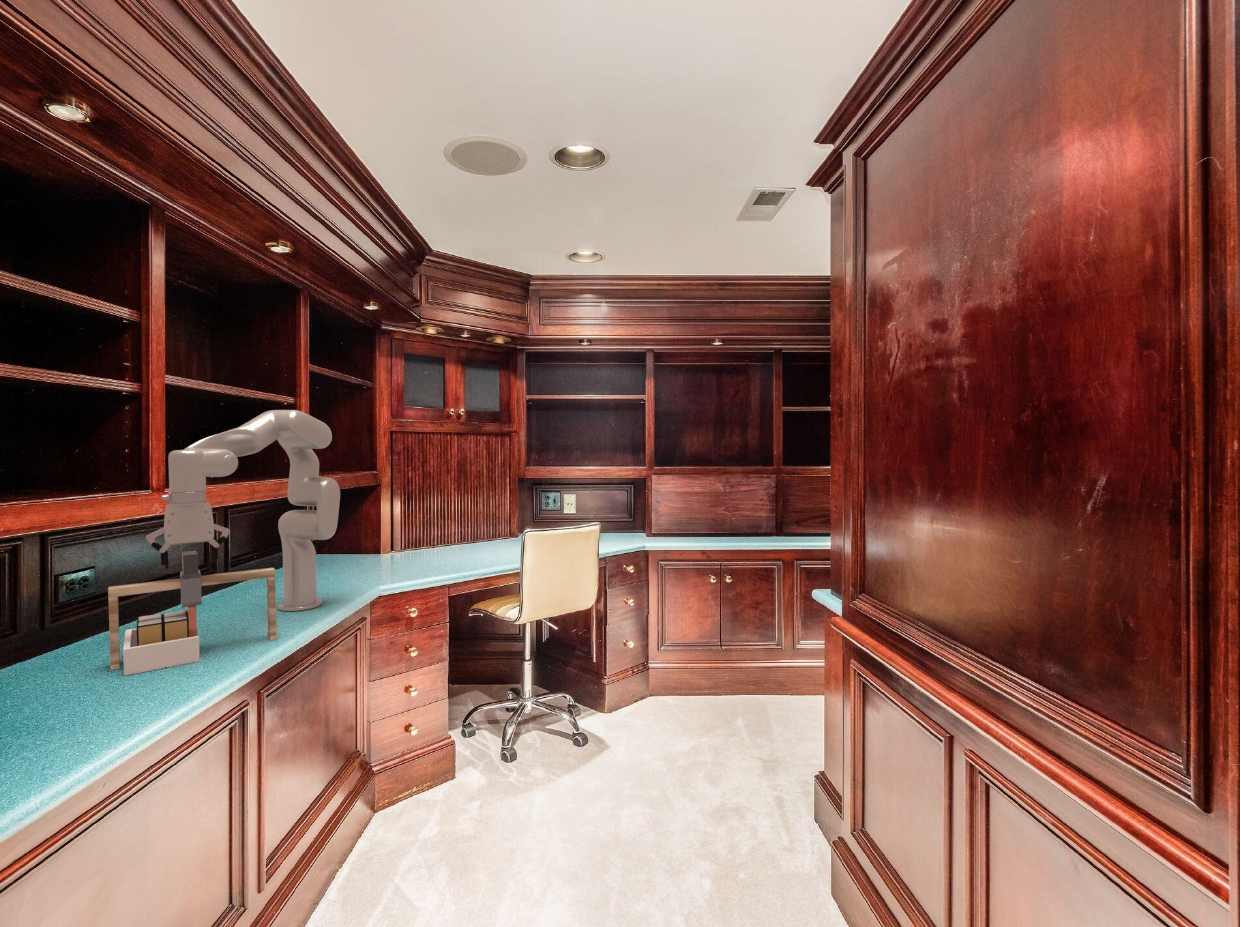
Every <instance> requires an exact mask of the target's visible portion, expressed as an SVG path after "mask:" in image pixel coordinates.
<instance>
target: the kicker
mask: <svg viewBox="0 0 1240 927" xmlns="http://www.w3.org/2000/svg"><path fill="white" fill-rule="evenodd" d="M181 560H182V566H181V567H182V571H179V575H180V576H179V579H180V578H181V589H180V605H181V608H186V611H187V615H188V621H189V637H194V636H198V628H197V623H198V622H197V620H198V619H197V617H198V616H197V606H201V605H202V604H203V603H202V600H203V598H202V586H201V576H202V574H201V571H200V569H199V554H198V551H197V550H189V551H181Z"/></svg>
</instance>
